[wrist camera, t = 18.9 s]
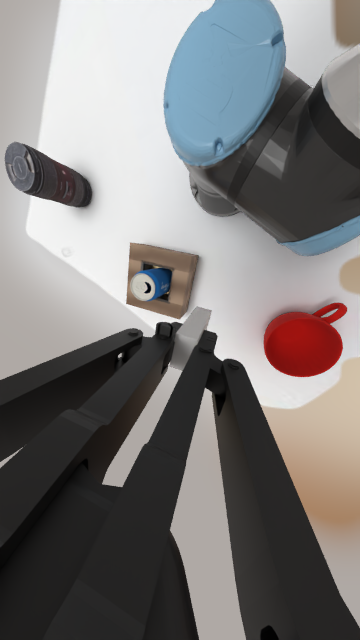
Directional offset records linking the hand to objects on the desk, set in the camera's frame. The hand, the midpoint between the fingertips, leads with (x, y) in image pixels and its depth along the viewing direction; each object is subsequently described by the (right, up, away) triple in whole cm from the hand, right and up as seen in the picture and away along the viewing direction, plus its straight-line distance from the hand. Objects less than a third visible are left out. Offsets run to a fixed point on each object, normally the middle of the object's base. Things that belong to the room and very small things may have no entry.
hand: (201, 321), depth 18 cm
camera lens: (-28, +34, +30) cm, 53 cm away
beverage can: (-6, +11, +30) cm, 32 cm away
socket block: (-6, +11, +31) cm, 33 cm away
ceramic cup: (+25, -1, +25) cm, 36 cm away
